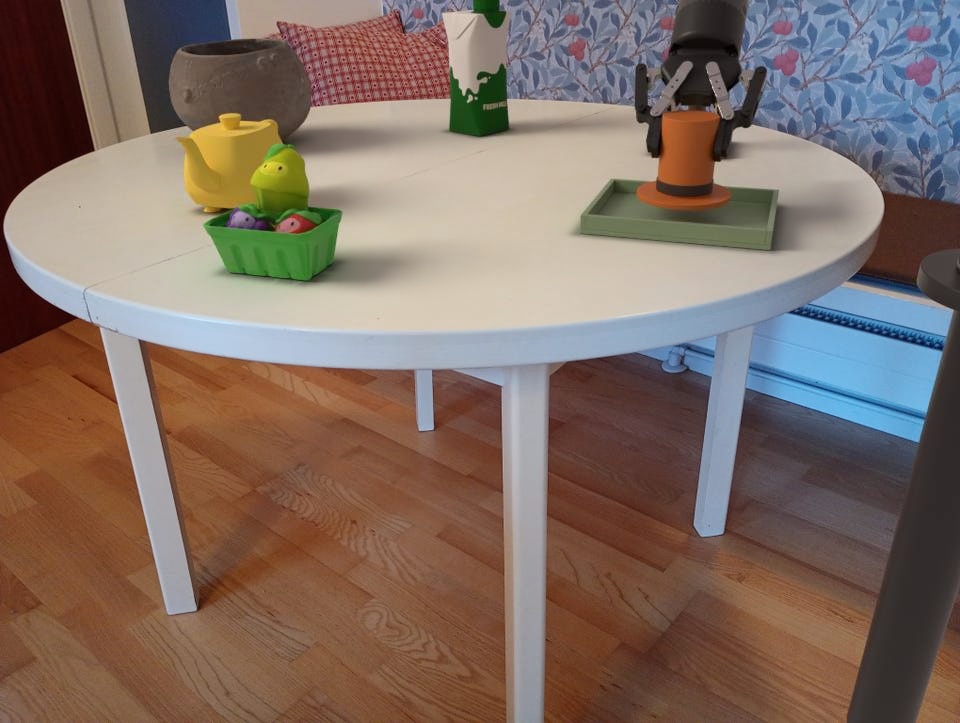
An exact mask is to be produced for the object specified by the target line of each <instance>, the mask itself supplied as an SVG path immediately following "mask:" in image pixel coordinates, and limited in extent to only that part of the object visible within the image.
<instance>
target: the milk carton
mask: <svg viewBox="0 0 960 723" xmlns="http://www.w3.org/2000/svg"><path fill="white" fill-rule="evenodd" d="M441 16H442V20H443V25H444V29H445V33H446V37H447V43H448V44H447V45H448V64H449V66H448V67H449V89H450V90H449V92H450V105H449V107H450V108H449V125H448V126H449V127H448V129H449V130H448V131H449V132H454V133H459V134H464V135H470V136H475V137H484V136H487V135H491V134H496V133H499V132H503V131H508V130H510V121H509V120H510V118H509V106H508V104H509V103H508V68H507V67H508V63H507V62H508V60H507V59H508V57H507V56H508V55H507V54H508V52H507V50H508V48H507V47H508V45H507V42H508V35H509V34H508V33H509V28H510V22H511V16H512V11H511V10H503V9H502V10H501V9H500V0H472V9H467V10H460V11H451V12H450V11H449V12H442V13H441Z"/></svg>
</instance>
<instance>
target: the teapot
mask: <svg viewBox="0 0 960 723" xmlns="http://www.w3.org/2000/svg"><path fill="white" fill-rule="evenodd" d="M219 119H220V121H221V123H217V124H213V125H209V126H206V127H203V128H200V129H197V130H195V131H192V132H191V133H190V134H189V137H187V136H185V137H183V136H182V137H179V136H178V137H174V140H176V141H177V142H179V143H180V145H182V147H183V150H184V152H185V155H184V163H183V180H184V187H185V191H186V193H187V195H188V196H189V198H190V199H191V200H192V201H193V202H194V204H196V205H199V206H204V207H205V208H204V209H203V212H205V213H216V212H221V211H222V210H223V209H235V208H236V207H237V206H242V205H245V204H256V203H258V200H257V198H256V195H255V193H254V190H253V188H252V186H251V183H250V182H251V179H252V176H253V174H254V173H255V171H256V170H257V169H258V168H259V167H260V166H261V165H262V164H263V163H264V162H263V159H265V157H266V155H267V153H268V151H269V149H270V148H271V147H272V146H273V145H275V144H279V143H281V144H284V142H283V140H281V139H280V137H279V135H278V125H277V123H276V121H274V120H271V119H267V120H263V121H261V122H253V121H240V120H241V115H240V114H237V113H229V114H223V115H220V116H219Z"/></svg>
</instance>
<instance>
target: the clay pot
mask: <svg viewBox="0 0 960 723" xmlns="http://www.w3.org/2000/svg"><path fill="white" fill-rule="evenodd" d="M307 74H308V73H307V71H306V69H305V66H304V64H303V62H302V61H301V58H300V56H298V54H297V52H296V51H295V49H294V48H293V47H292V46H291V45H290V44H289V43H288V42H287V41H285V39H281V38H234V39H227V40H219V41H211V42H202V43H193V44H188V45H184V46H183V47H179V48H178V50H177V51H176V52H175V54H174V56H173V58H172V61H171V64H170V70H169V77H168V91H169V96H170V101H171V105H172V108H173V109H174V112H175V113H176V115H177V116H178V118H179V119H180V120H181V121H182V122H183V124H185V126H186V127H187V128H188V129H189V130H191V131H192V132H193V131H195V130H197V129H200V128H203V127H206V126H209V125H213V124H217V123H221V121H220V119H219V116H220V115H223V114H229V113H237V114H240V115H241V120H240V121H253V122H261V121H263V120H267V119H271V120H274V121H276V123H277V125H278V135H279V137H280V139H281V141H283V140H284V139H286V138H288V137H289V136H291V135H292V134H294V133H295V132H296V131H298V130H299V128H300V127H302V125H303V124H304V123H305V121H306V120H307V118H308V116H309V114H310V111H311V106H312V87H311V83H310V80H309V77H308V75H307Z"/></svg>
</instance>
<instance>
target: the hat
mask: <svg viewBox="0 0 960 723" xmlns="http://www.w3.org/2000/svg"><path fill="white" fill-rule="evenodd" d="M719 121H720V116H719V115H718V114H715V112H712V111H706V110H705V111H696V110H688V109H685V110H683V109H682V110H681V109H680V110H677V111H671V112H667V113H664V114H663V116H662V129H661V141H660V154H659V158H658V168H657V176H656V179H655V180H651V181H652V182H648V183H645V184H643V185H641V186H639V187H638V189H637V197H638V199H639V200H641V201H642V202H644V203H646V204H649V205H652V206H656V207H660V208H665V209H673V210H707V209H714V208H718V207H722V206H724V205H726V204H728V203H729V202H730V201H731V196H732V193H731V191H730V190H729V189H727V188H726V187H724V186H725V185H722V184H719V183H715V179H714V175H715V164H716V162H714V148H715V142H716V136H717V130H718V126H719Z"/></svg>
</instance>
